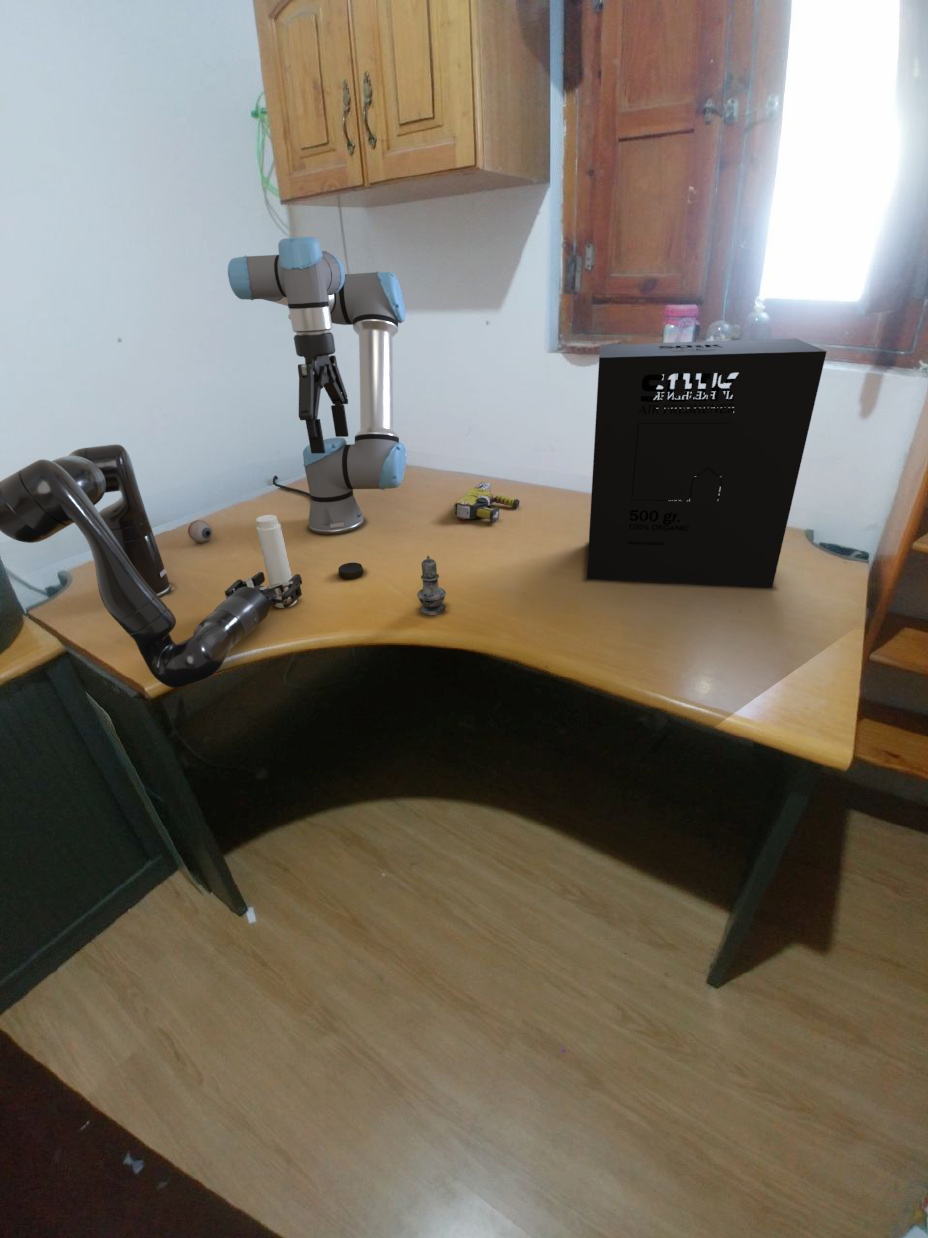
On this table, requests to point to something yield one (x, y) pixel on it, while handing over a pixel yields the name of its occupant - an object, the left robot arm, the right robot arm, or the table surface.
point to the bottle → (273, 552)
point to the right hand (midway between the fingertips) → (330, 444)
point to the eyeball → (200, 531)
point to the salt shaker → (431, 589)
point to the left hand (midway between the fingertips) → (280, 576)
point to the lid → (350, 571)
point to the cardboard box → (698, 459)
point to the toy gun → (481, 504)
